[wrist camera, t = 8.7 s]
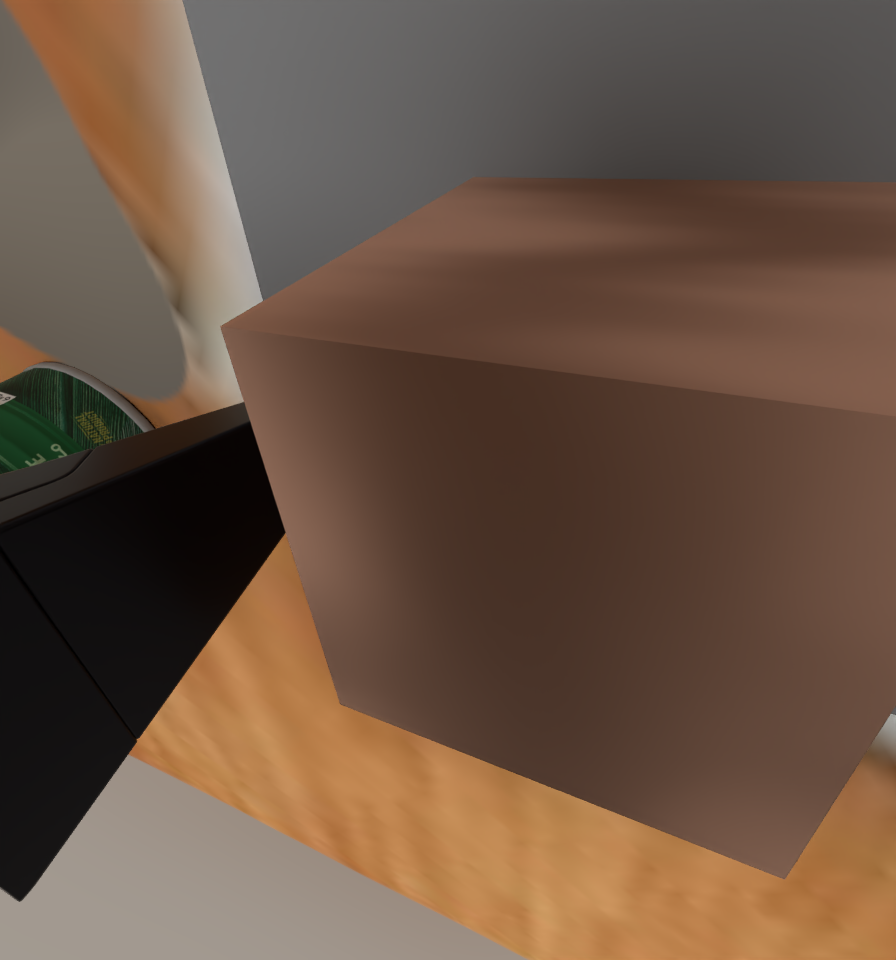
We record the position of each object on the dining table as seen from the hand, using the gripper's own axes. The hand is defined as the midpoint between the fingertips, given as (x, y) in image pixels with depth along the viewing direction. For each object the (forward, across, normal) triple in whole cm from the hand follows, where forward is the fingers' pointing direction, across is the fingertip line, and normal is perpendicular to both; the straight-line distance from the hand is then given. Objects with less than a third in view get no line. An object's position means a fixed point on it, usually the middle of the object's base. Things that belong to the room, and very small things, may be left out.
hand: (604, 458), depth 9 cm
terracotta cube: (+3, 0, 0) cm, 3 cm away
